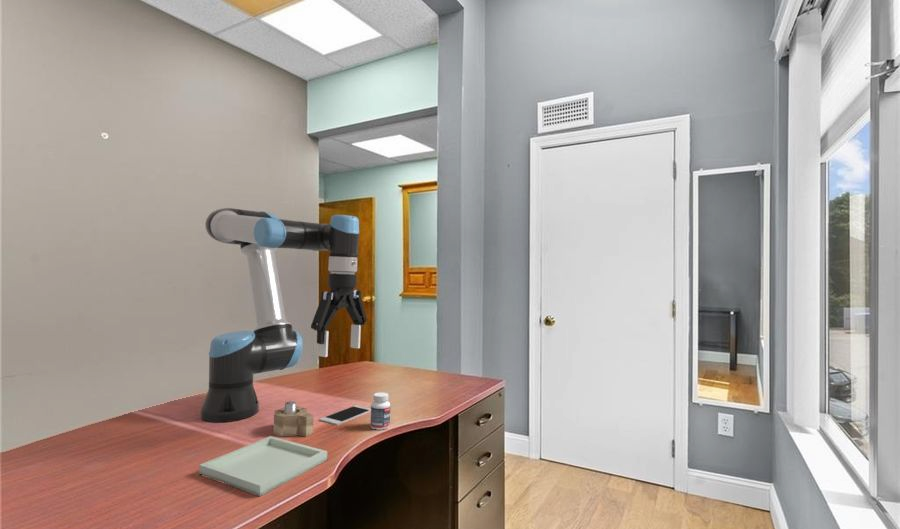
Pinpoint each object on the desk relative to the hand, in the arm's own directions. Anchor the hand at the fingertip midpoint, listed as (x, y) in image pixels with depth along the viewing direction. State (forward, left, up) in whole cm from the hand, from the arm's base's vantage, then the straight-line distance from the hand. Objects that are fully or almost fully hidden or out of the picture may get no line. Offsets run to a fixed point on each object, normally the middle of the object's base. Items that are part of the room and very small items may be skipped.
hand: (339, 352), depth 117 cm
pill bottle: (+9, +7, -21) cm, 24 cm away
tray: (+2, -25, -21) cm, 32 cm away
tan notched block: (-9, -7, -21) cm, 23 cm away
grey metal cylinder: (-10, -7, -21) cm, 24 cm away
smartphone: (-5, +10, -21) cm, 24 cm away
